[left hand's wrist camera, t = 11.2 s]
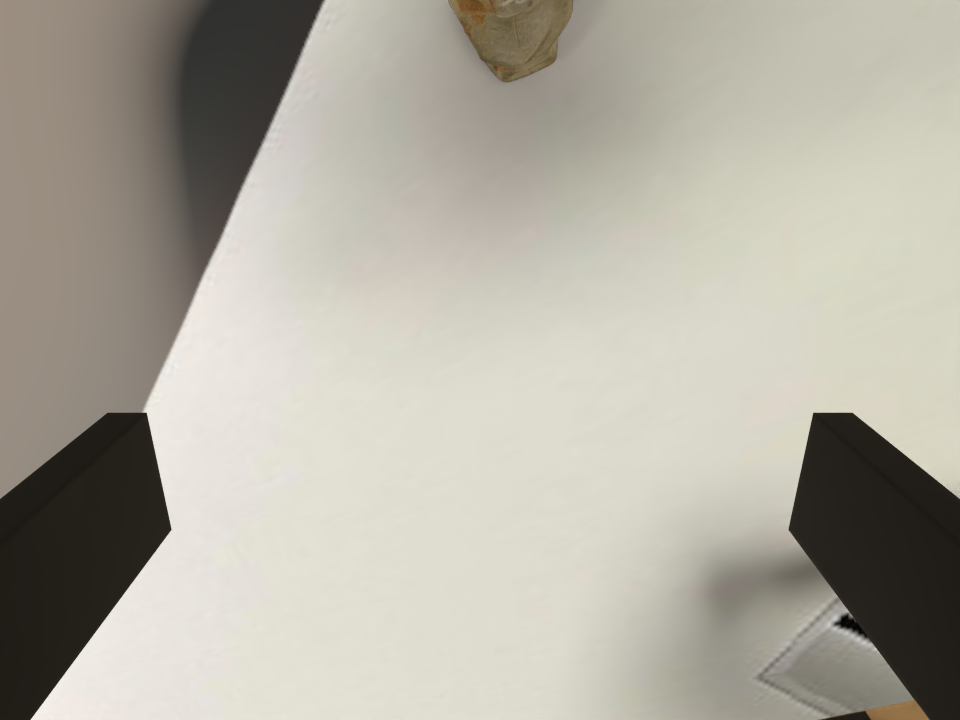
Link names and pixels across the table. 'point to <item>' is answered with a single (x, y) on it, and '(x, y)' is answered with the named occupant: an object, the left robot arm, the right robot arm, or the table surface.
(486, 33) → the sculpture
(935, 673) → the left robot arm
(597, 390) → the table surface
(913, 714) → the bar
